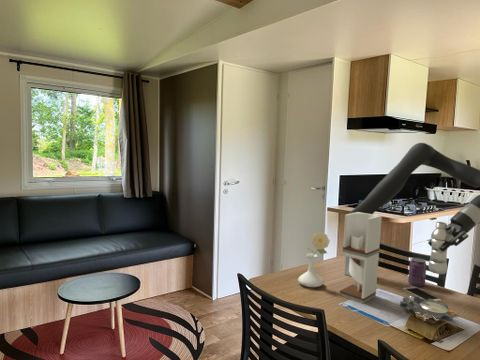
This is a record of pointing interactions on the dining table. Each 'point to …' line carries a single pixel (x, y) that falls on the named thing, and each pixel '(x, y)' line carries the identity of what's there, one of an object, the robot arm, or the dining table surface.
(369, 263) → the display case
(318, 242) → the flower in vase
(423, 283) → the beverage can
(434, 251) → the silver bottle
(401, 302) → the sprocket plate
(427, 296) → the smartphone
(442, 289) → the dining table surface
